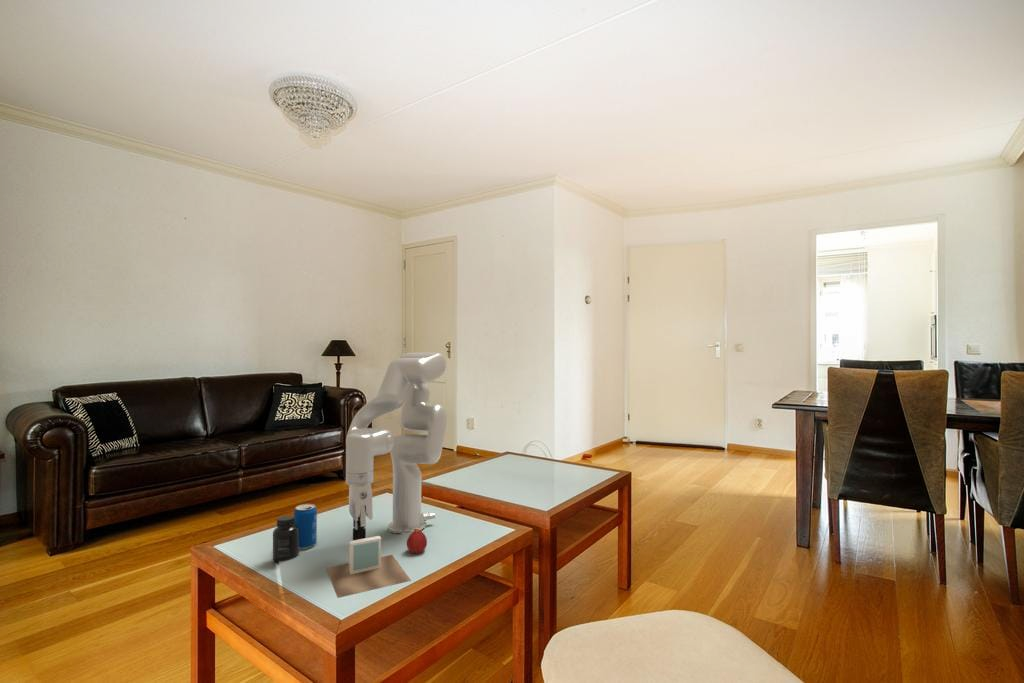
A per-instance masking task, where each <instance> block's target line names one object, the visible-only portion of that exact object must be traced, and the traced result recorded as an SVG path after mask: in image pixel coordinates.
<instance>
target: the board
mask: <svg viewBox="0 0 1024 683" xmlns="http://www.w3.org/2000/svg"><path fill="white" fill-rule="evenodd" d="M325 569H326V571H327V573H328V574H327V575H328V577H329V579H330V581H331V584H332V587H333V589H334V592H335V594H336V597H337V599H339V598H343V597H348V596H352V595H356V594H361V593H366V592H370V591H372V590H373V591H374V590H377V589H382V588H386V587H391V586H394V585H398V584H404V583H407V582H411V581H412V580H411V578H410V577H409V576H408V574H407V573H406V571H405V570H404V568H403V567H402V566H401V564H400V563H399V561H398V560H397V559H396V558H395V556H394V555H393V554H388V555H384V556H381V568H378V569H373V570H369V571H364V572H359V573H355V574H350V572H349V563H344V564H341V565H334V566H331V567H330V566H329V567H326V568H325Z"/></svg>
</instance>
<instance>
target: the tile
mask: <svg viewBox="0 0 1024 683" xmlns="http://www.w3.org/2000/svg"><path fill="white" fill-rule="evenodd" d="M348 547H349V548H348V550H349V551H348V564H349V572H350V574H355V573H359V572H364V571H369V570H373V569H378V568H381V557H382V537H381V536H380V535H375V536H371V537H366V538H364V539H359V540H353V539H352V540H350V541H348Z"/></svg>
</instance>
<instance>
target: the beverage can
mask: <svg viewBox="0 0 1024 683" xmlns="http://www.w3.org/2000/svg"><path fill="white" fill-rule="evenodd" d="M293 516H295V524H294V525H296V526H297V527H298V528H299V550H307V549H310V548H311V549H312V548H313V546H314V545H316V544H317V538H318V537H317V536H318V535H317V533H318V532H317V523H318V521H317V520H318V519H317V518H318V510H317V507H316V504H314V503H313V504H312V503H304V504H303V503H302V504H299V505H297V506H296V507H295V509H294V512H293Z"/></svg>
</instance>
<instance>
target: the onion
mask: <svg viewBox="0 0 1024 683" xmlns="http://www.w3.org/2000/svg"><path fill="white" fill-rule="evenodd" d="M414 530H415V531H414V532H412V533H409V536H408V538H407V539H406V546H407V549H408V551H409V552H410V553H412V554H420V553H423V552H424V551H425V549H426V548H427V544H428V541H427V537H426V535H425V533H424V532H423V531H422V530H421V531H420V530H419V529H418V528H416V529H414Z"/></svg>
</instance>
